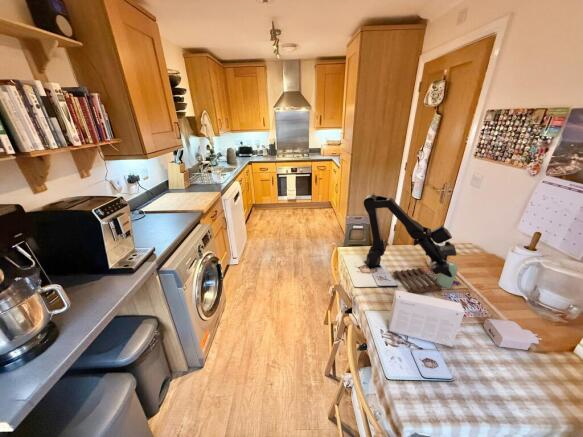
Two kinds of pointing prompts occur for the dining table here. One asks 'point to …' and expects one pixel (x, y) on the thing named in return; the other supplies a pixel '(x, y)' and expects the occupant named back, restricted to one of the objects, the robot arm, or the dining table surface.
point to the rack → (418, 289)
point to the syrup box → (430, 258)
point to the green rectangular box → (446, 280)
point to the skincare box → (425, 317)
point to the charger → (509, 334)
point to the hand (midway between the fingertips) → (450, 273)
